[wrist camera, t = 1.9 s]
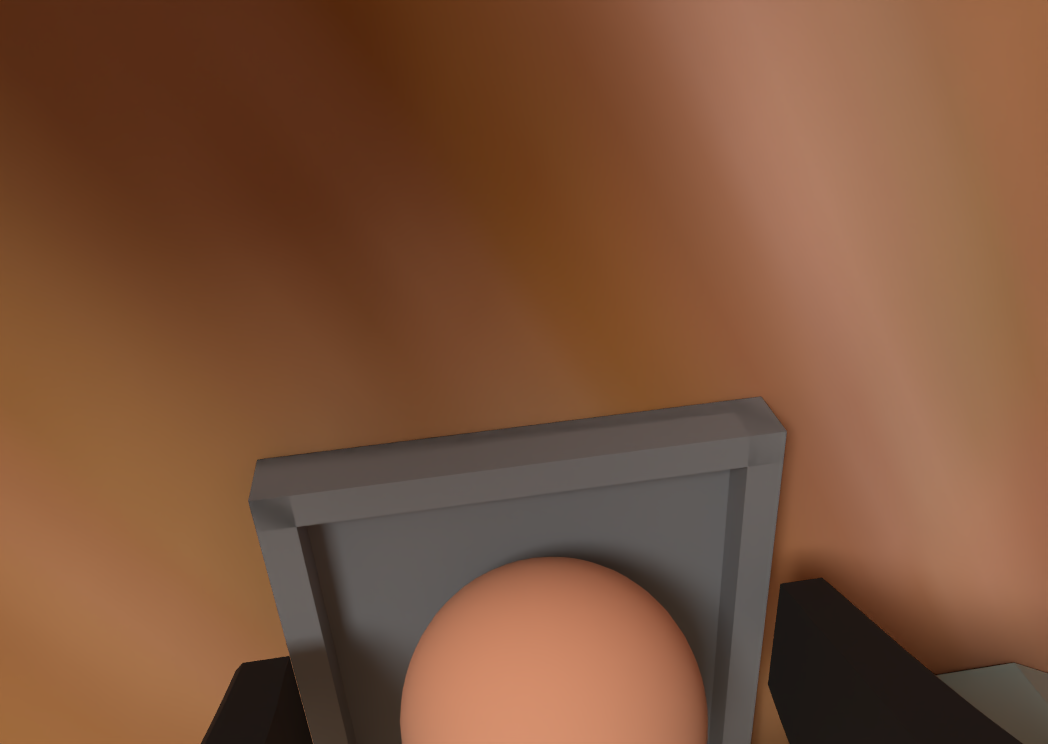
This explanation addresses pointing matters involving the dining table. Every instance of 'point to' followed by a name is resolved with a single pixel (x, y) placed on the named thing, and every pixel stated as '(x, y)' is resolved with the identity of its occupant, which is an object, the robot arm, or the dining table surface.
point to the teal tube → (1007, 698)
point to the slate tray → (521, 544)
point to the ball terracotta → (553, 663)
